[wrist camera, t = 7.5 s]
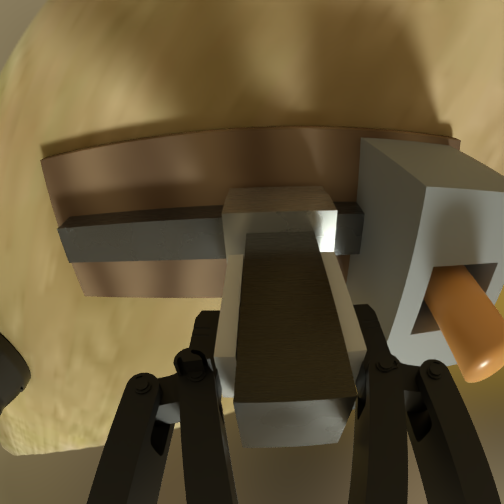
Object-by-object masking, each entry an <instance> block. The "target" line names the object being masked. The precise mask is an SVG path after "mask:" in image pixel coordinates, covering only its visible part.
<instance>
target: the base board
mask: <svg viewBox="0 0 504 504" xmlns="http://www.w3.org/2000/svg"><path fill="white" fill-rule="evenodd" d="M361 138H379V139H392V140H404V141H415V142H424V143H433V144H441V145H449V146H451V147H453V148H455V149H457V150H460V142H461V140H458V139H456V138H452V137H446V136H439V135H431V134H423V133H414V132H405V131H394V130H382V129H368V128H350V127H315V126H288V127H253V128H234V129H220V130H207V131H196V132H186V133H177V134H169V135H161V136H154V137H146V138H140V139H133V140H127V141H121V142H115V143H110V144H104V145H99V146H94V147H89V148H84V149H79V150H75V151H70V152H66V153H62V154H57V155H53V156H49V157H46V158H44V159H42V160H40V161H41V165H42V170H43V174H44V178H45V182H46V185H47V189H48V193H49V196H50V200H51V203H52V207H53V210H54V213H55V217H56V220H57V223H58V226H61V225H62V224H63V223H64V222H65V221H66V220H67V219H68V218H69V217H72V216H82V215H91V214H102V213H112V212H124V211H136V210H148V209H162V208H176V207H192V206H210V205H224V203H225V199H226V196H228V192H229V189H231V188H253V187H284V186H323V188H324V190H325V192H326V194H329V195H330V197H331V199H332V201H333V202H356V201H357V189H358V177H359V162H360V144H361ZM336 258H337V261H338V263H339V266H340V269H341V272H342V275H343V278H344V280H345V283H346V282H347V276H348V269H349V262H350V255H336ZM72 266H73V268H74V271H75V273H76V276H77V278H78V281H79V283H80V286H81V288H82V291H83V293H84V295H85V296H97V297H145V298H214V297H222V295H223V289H224V282H225V276H226V269H227V259H196V260H160V261H122V262H80V263H72Z"/></svg>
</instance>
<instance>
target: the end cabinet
mask: <svg viewBox="0 0 504 504" xmlns="http://www.w3.org/2000/svg"><path fill="white" fill-rule="evenodd" d="M356 202H357V203H358V205H359V206H360V208H361V209H362V211H363V212H364V214H365V216H364V225H363V232H362V240H361V247H360V254H353V255H350V262H349V269H348V276H347V282H346V286H347V289H348V292H349V295H350V298H351V301H352V304H353V305H357V304H368V305H369V306H370V307H371V308H372V309H373V310H374V311H375V313H376V315H377V318H378V321H379V323H380V326H381V328H382V331H383V334H384V336H385V339H386V342H387V345H388V347H389V350H390V353H391V354H392V355H394V356H396V358H397V359H398V360H399V361H400V362H401V363H403V364H407V365H414V366H421V364H422V363H423V362H424V361H426V360H428V359H436V360H439V361H441V362H442V363H444V364H445V365H446V366H449V365H454V364H457V362H456V360H455V358H454V356H453V354H452V352H451V350H450V348H449V346H448V344H447V342H446V340H445V338H444V336H443V334H442V332H441V330H440V328H439V326H438V324H437V322H436V320H435V319H434V317H433V315H432V313H431V311H430V309H429V308H428V306H427V304H426V302H425V300H424V299H423V298H424V295H425V292H426V289H427V286H428V283H429V280H430V277H431V273H432V270H433V267H439V266H455V265H464V266H465V267H466V269H467V270H468V271H469V272H470V274H471V275H472V276H473V278H474V279H475V280H476V281H477V283H478V284H479V285H480V287H481V288H482V289H483V291H484V292H485V293H486V295H487V296H488V298H489V299H490V300H491V302H492V303H493V304H494V305H495V303H496V301H497V298H498V296H499V294H500V292H501V289H502V287H503V285H504V176H503V175H501V174H499V173H498V172H496V171H494V170H493V169H491V168H489V167H488V166H486V165H484V164H483V163H481V162H479V161H477V160H476V159H474V158H472V157H470V156H468V155H466V154H465V153H463V152H461V151H459V150H457V149H455V148H453V147H451V146H449V145H441V144H433V143H424V142H415V141H404V140H392V139H379V138H361V144H360V162H359V177H358V189H357V201H356Z"/></svg>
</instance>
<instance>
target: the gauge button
mask: <svg viewBox="0 0 504 504" xmlns="http://www.w3.org/2000/svg"><path fill="white" fill-rule="evenodd" d="M423 299H424V300H425V302H426V304H427V306H428V308H429V309H430V311H431V313H432V315H433V317H434V319H435V320H436V322H437V324H438V326H439V328H440V330H441V332H442V334H443V336H444V338H445V340H446V342H447V344H448V346H449V348H450V350H451V352H452V354H453V356H454V358H455V360H456V362H457V364H458V366H459V368H460V371H461V372H462V375H463V377H464V379H465V381H466V382H469V383H473V382H478V381H481V380H484V379H486V378H487V377H489V376H491V375H492V374H494V373H495V372H497V371H498V370H499V369H500V368H502V367H503V366H504V319H503V317H502V316H501V315H500V313H499V312H498V310H497V309H496V307H495V306H494V304H493V303H492V302H491V300H490V299H489V298H488V296H487V295H486V293H485V292H484V291H483V289H482V288H481V287H480V285H479V284H478V283H477V281H476V280H475V279H474V278H473V276H472V275H471V274H470V272H469V271H468V270H467V269H466V267H465V266H464V265H455V266H439V267H433V270H432V273H431V277H430V280H429V283H428V286H427V289H426V292H425V295H424V298H423Z"/></svg>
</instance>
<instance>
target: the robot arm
mask: <svg viewBox="0 0 504 504" xmlns="http://www.w3.org/2000/svg"><path fill="white" fill-rule="evenodd" d="M320 253H321V256H322V260H323V263H324V266H325V270H326V273H327V277H328V280H329V284H330V287H331V291H332V295H333V298H334V302H335V306H336V309H337V313H338V317H339V321H340V325H341V329H342V332H343V336H344V340H345V344H346V349H347V353H348V357H349V361H350V365H351V369H352V374H353V378H354V383H355V385H356V388H357V392H358V394H357V398H356V401H355V403H354V406H353V408H352V409H355V427H354V445H353V460H352V471H351V481H350V482H351V483H350V492H349V500H348V504H407V495H408V493H407V492H408V448H407V431H408V435H409V438H410V441H411V444H412V447H413V451H414V454H415V458H416V461H417V465H418V468H419V472H420V475H421V479H422V483H423V486H424V490H425V494H426V498H427V502H428V504H501V502H500V498H499V495H498V491H497V488H496V485H495V482H494V479H493V476H492V473H491V470H490V467H489V464H488V461H487V458H486V456H485V453H484V450H483V447H482V445H481V443H480V440H479V437H478V435H477V432H476V430H475V427H474V425H473V423H472V420H471V418H470V415H469V413H468V411H467V408H466V406H465V404H464V402H463V399H462V397H461V395H460V393H459V391H458V388H457V386H456V384H455V382H454V380H453V378H452V376H451V374H450V372H449V370H448V368H447V367H446V365H445V364H444V363H442V362H441V361H439V360H436V359H428V360H426V361H424V362H423V363H422V364H421V366H414V365H407V364H403V363H401V362H400V361H399V360H398V359H397V358H396V356H394V355H392V354H391V353H390V350H389V347H388V345H387V342H386V339H385V336H384V334H383V331H382V328H381V326H380V323H379V321H378V318H377V315H376V313H375V311H374V310H373V309H372V308H371V307H370V306H369V305H368V304H357V305H353V304H352V301H351V298H350V295H349V292H348V289H347V286H346V283H345V280H344V278H343V275H342V272H341V269H340V266H339V263H338V261H337V258H336V255H335V252H320ZM243 268H244V254H243V255H229V257H228V263H227V269H226V276H225V282H224V289H223V295H222V302H221V309H220V311H201V312H200V314H199V315H198V316H197V317H196V319H195V323H194V329H193V332H192V337H191V342H190V346H189V348H186V349H183V350H182V351H180V352H179V353H178V354H177V355H176V356H175V358H174V362H173V363H174V366H175V368H176V371H177V373H176V374H174V375H171V376H167V377H162V378H158V379H157V378H156V377H155V376H154V375H153V374H149V373H139V374H137V375H134V376H133V377H132V378H131V379H130V380H129V381H128V383H127V385H126V388H125V390H124V393H123V396H122V398H121V401H120V404H119V406H118V409H117V412H116V415H115V418H114V420H113V423H112V426H111V429H110V432H109V435H108V438H107V441H106V443H105V446H104V450H103V453H102V456H101V459H100V462H99V465H98V468H97V471H96V475H95V478H94V481H93V484H92V487H91V491H90V494H89V498H88V501H87V504H157V501H158V496H159V491H160V487H161V482H162V478H163V473H164V469H165V464H166V460H167V455H168V451H169V446H170V442H171V438H172V433H173V430H174V425H175V423H177V422H180V427H181V443H182V457H183V469H184V480H185V491H186V500H187V504H238V499H237V494H236V488H235V482H234V477H233V471H232V465H231V460H230V453H229V448H228V441H227V435H226V428H225V422H224V415H223V408H222V404H221V395H223V397H234V386H235V372H236V359H237V345H238V332H239V319H240V306H241V293H242V280H243ZM30 378H31V374H30V370H29V368H28V366H27V364H26V363H25V361H24V360H23V358H22V357H21V356H20V354H19V353H18V352H17V351H16V350H15V348H14V347H13V346H12V345H11V344H10V343H9V342H8V341H7V340H6V339H5V338H4V337H3V336H2V335H1V334H0V415H1V413H2V411H3V409H4V408H5V407H6V406H7V405H8V404H9V403H10V402H11V401H12V400H13V399H15V398H16V397H17V396H18V394H19V393H20V392H22V391H23V390H24V389H25V388H26V386H27V384H28V382H29V380H30Z"/></svg>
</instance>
